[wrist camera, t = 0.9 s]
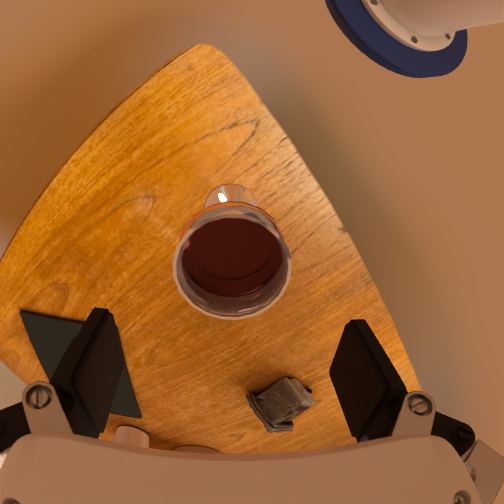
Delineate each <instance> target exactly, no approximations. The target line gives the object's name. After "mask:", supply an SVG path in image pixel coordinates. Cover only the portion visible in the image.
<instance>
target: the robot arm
mask: <svg viewBox="0 0 504 504" xmlns="http://www.w3.org/2000/svg"><path fill="white" fill-rule="evenodd" d="M361 1H362V3H363V5H364V6H365V8H366V9H367V11H368V13H369V14H370V15H371V16H372V18H373V19H374V20H375V22H376V23H377V24H378V25H379V26H380V27H381V28H382V29H383V30H384V31H386V32H387V33H388V34H389V35H391V36H392V37H393V38H394V39H396V40H398V41H399V42H401V43H402V44H404V45H406V46H408V47H410V48H413V49H416V50H419V51H426V52H431V51H437V50H441V49H444V48H445V47H447V46H448V45H449V44H450V43H451V42H452V40H453V38H454V35H455V31H459V30H464V29H468V28H473V27H477V26H482V25H488V24H494V23H500V22H504V0H361ZM123 368H124V361H123V357H122V353H121V348H120V344H119V340H118V335H117V331H116V326H115V321H114V316H113V314H112V313H110V312H109V310H108V309H104V308H96V307H95V308H93V310H92V311H91V313H90V315H89V316H88V318H87V320H86V321H85V323H84V325H83V326H82V328H81V330H80V331H79V333H78V335H77V337H74V338H73V340H72V341H71V343H70V345H69V346H68V348H67V350H66V352H65V353H64V355H63V357H62V359H61V361H60V363H59V364H58V366H57V368H56V370H55V372H54V374H53V376H52V378H51V380H50V382H49V383H47V382H44V381H37V382H34V383H31V384H30V385H28V386H27V387H26V388H25V390H24V391H23V394H22V402H20V403H17V404H15V405H12V406H10V407H7V408H4V409H2V410H0V504H492V503H493V501H494V499H495V498H496V496H497V494H498V492H499V490H500V488H501V486H502V483H503V481H504V457H502V456H501V455H500V454H498V453H497V452H496V451H494V450H493V449H492V448H490V447H489V446H487V445H486V444H485V443H484V442H482V441H481V440H478V441H475V434H474V431H473V430H472V428H471V427H470V426H469V425H467V424H465V423H463V422H460V421H458V420H455V419H453V418H451V417H448V416H446V415H443V414H441V413H439V412H436V405H435V402H434V400H433V399H432V397H430V396H429V395H428V394H426V393H424V392H421V391H412V392H409V393H408V392H407V390H406V386H405V385H404V383H403V381H402V380H401V378H400V376H399V374H398V373H397V371H396V369H395V368H394V366H393V364H392V363H391V361H390V359H389V358H388V356H387V354H386V353H385V351H384V349H383V348H382V346H381V344H380V343H379V341H378V340H377V338H376V336H375V335H374V333H373V332H372V330H371V328H370V327H369V325H368V324H367V322H366V321H365V320H364V319H356V320H350V322H349V323H347V324H346V325H345V328H344V331H343V334H342V337H341V339H340V342H339V345H338V348H337V351H336V353H335V356H334V359H333V362H332V364H331V367H330V378H331V380H332V383H333V386H334V388H335V391H336V394H337V396H338V399H339V402H340V405H341V407H342V410H343V413H344V416H345V418H346V421H347V424H348V427H349V429H350V432H351V435H352V436H353V437H356V440H357V443H353V444H347V445H341V446H335V447H329V448H322V449H314V450H305V451H295V452H282V453H265V454H209V453H192V452H179V451H169V450H161V449H153V448H146V447H139V446H133V445H127V444H121V443H116V442H111V441H106V440H101V439H98V437H99V434H100V433H103V432H104V430H105V426H106V423H107V419H108V416H109V413H110V409H111V406H112V403H113V399H114V396H115V393H116V390H117V387H118V384H119V381H120V378H121V375H122V372H123Z"/></svg>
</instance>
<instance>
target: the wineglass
mask: <svg viewBox="0 0 504 504" xmlns="http://www.w3.org/2000/svg"><path fill="white" fill-rule="evenodd" d="M291 269H292V262H291V257H290V253H289V248H288V247H287V245H286V244H285V240H284V235H283V233H282V231H281V230H280V228H279V227H278V225H277V223H276V222H275V220H274V219H273V218H272V217H271V216H270V215H268V214H267V213H266V212H265V211H263V210H262V209H261V208H259V207H258V206H257V202H256V199H255V198H254V196H253V194H252V193H251V192H250V191H249V190H247V189H246V188H245V187H242V186H239V185H236V184H227V185H223V186H220V187H218V188H217V189H215V190H214V191H212V193H211V194H210V195H209V196H208V198H207V200H206V203H205V209H203V210H202V211H200V212H199V213H197V214H196V215H194V217H192V219H191V220H190V221H189V223H188V224H187V225H186V227H185V228H184V229H183V231H182V233H181V236H180V239H179V242H178V245H177V248H176V251H175V255H174V258H173V278H174V280H175V283H176V285H177V287H178V290H179V292H180V294H181V295H182V296H183V297H184V298H185V299H186V301H187V302H188V303H189V304H190V305H191V306H193V307H194V308H196V309H197V310H199V311H201V312H202V313H204V314H206V315H209V316H212V317H216V318H219V319H234V320H239V319H244V318H248V317H252V316H256V315H258V314H260V313H261V312H263V311H265V310H267V309H269V308H270V307H271V306H272V305H273V304H275V303H276V302H277V301H278V300H279V299H280V298H281V297H282V295H283V293H284V291H285V290H286V288H287V286H288V284H289V282H290V276H291Z"/></svg>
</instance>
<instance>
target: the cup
mask: <svg viewBox="0 0 504 504" xmlns="http://www.w3.org/2000/svg"><path fill="white" fill-rule="evenodd" d="M112 442H116V443H121V444H127V445H133V446H139V447H146V448H149V436H148V435H147V434H146V433H144V432H143V431H141V430H139V429H137V428H133V427H130V426H120V427H118V428H117V431H116V434H115V436H114V438H113V441H112Z"/></svg>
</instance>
